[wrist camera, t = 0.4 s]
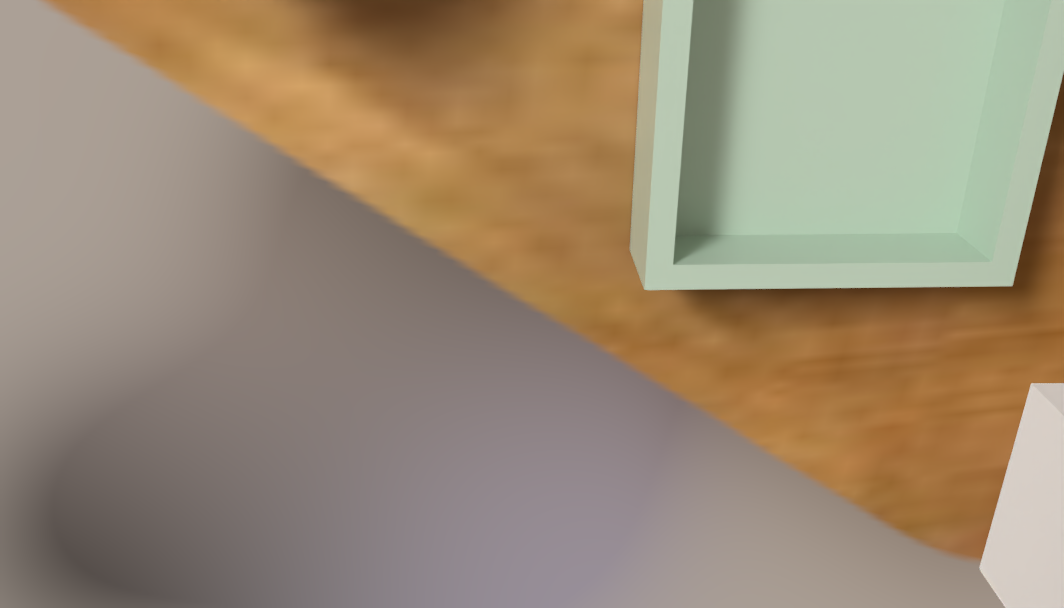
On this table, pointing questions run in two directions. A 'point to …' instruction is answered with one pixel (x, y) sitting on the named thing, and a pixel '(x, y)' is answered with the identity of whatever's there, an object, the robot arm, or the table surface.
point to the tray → (840, 141)
